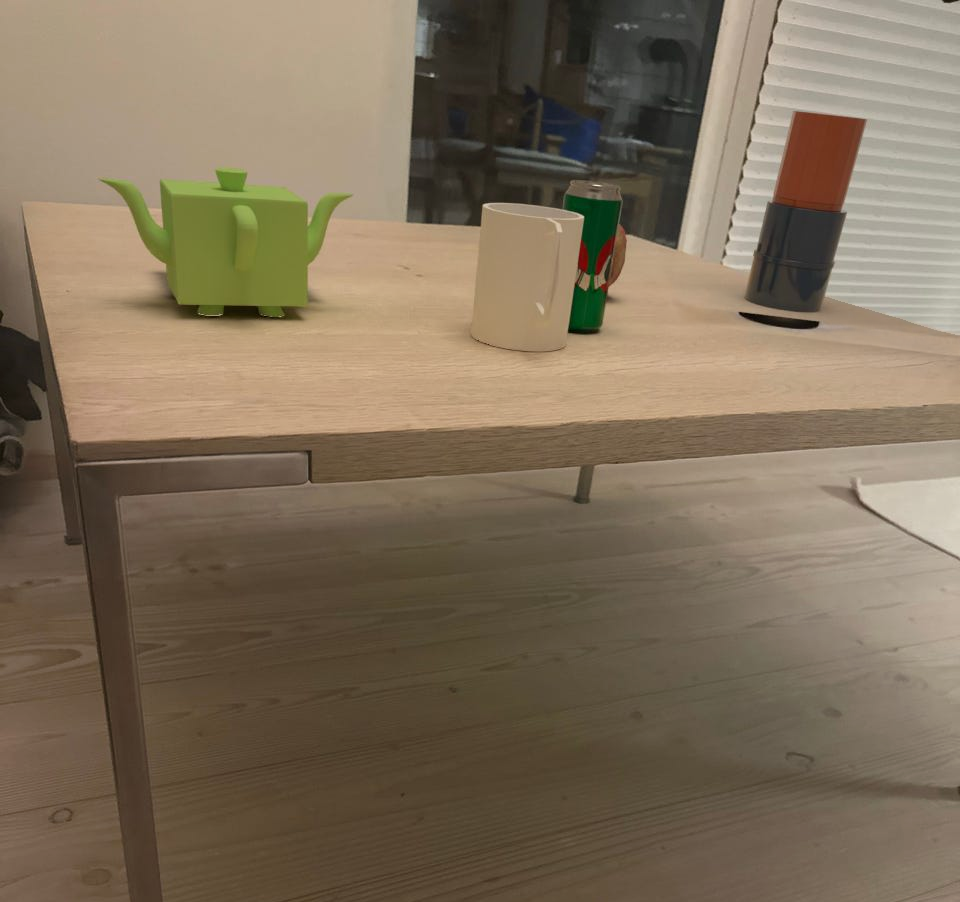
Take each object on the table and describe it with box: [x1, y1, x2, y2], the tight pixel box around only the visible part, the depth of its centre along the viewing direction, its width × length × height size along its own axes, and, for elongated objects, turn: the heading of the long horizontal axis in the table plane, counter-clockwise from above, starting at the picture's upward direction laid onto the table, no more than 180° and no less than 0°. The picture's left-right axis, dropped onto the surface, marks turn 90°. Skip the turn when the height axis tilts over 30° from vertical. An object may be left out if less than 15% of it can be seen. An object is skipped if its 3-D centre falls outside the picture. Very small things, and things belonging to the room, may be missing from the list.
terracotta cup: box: [772, 110, 868, 212], centre depth 90 cm, size 7×7×8 cm
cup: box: [470, 202, 584, 353], centre depth 75 cm, size 8×12×10 cm
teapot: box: [97, 167, 354, 317], centre depth 76 cm, size 15×13×11 cm
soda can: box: [561, 179, 624, 334], centre depth 82 cm, size 5×5×12 cm
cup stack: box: [738, 199, 848, 330], centre depth 95 cm, size 8×8×11 cm
